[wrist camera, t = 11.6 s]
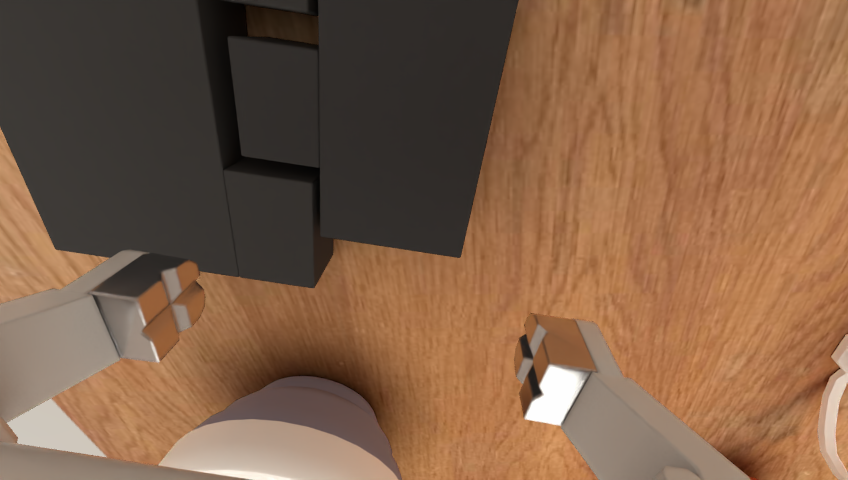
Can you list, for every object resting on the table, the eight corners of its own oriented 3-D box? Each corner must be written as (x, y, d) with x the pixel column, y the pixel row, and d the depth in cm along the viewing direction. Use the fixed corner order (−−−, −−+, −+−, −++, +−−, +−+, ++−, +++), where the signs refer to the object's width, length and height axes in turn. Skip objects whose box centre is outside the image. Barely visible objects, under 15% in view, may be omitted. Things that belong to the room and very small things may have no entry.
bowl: (201, 326, 22) (93, 447, 15) (429, 358, 22) (420, 493, 16) (233, 455, 29) (170, 576, 23) (406, 479, 29) (393, 607, 23)
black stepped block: (261, -61, 12) (210, -88, 10) (511, -20, 13) (527, -37, 10) (279, 198, 17) (249, 225, 15) (459, 226, 17) (460, 258, 15)
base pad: (-48, -240, 11) (-207, -329, 8) (337, -177, 11) (302, -246, 8) (110, 221, 19) (54, 250, 16) (333, 254, 19) (314, 289, 16)
